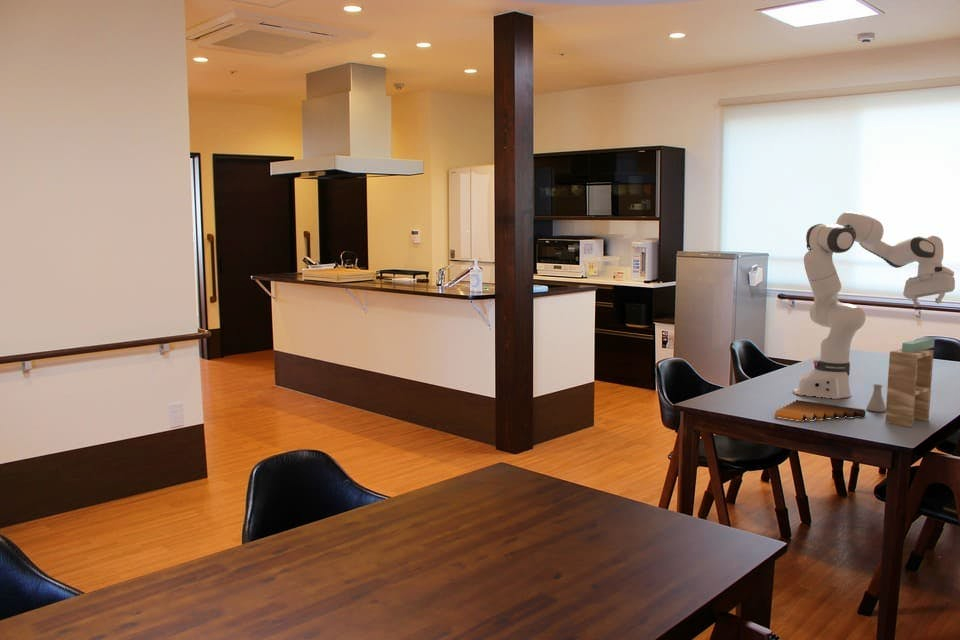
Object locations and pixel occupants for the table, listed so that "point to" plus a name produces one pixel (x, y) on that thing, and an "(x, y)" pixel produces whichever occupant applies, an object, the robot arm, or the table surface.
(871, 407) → the flask
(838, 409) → the pan flute
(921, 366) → the rack
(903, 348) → the mint green bar
